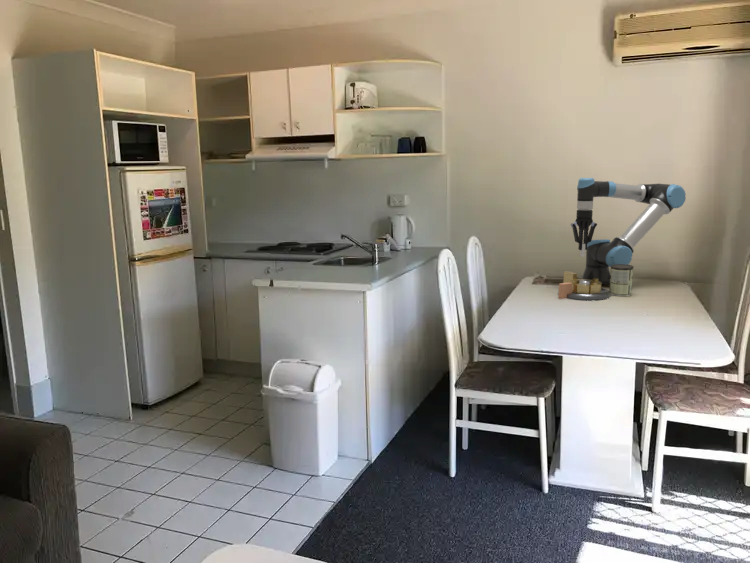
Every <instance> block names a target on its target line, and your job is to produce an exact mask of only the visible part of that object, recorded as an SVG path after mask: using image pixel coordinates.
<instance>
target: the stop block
mask: <svg viewBox="0 0 750 563" xmlns="http://www.w3.org/2000/svg"><path fill="white" fill-rule="evenodd" d="M571 293H572V283H569V282H568V283H563V282H562V283H558V298H557V299H562V300H563V299H568V298H567V294H571Z"/></svg>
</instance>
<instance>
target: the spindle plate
mask: <svg viewBox="0 0 750 563" xmlns="http://www.w3.org/2000/svg"><path fill="white" fill-rule="evenodd" d="M579 284H583V285H590V281H589V280H580V281H579ZM609 297H610V298H611V294H610V289H606V288H603V287H601V292H600V293H594V294H582V293H574V292H572V293H571V294H567V298H566V299H568V300H569V299H570V300H575V301H587V300H588V301H591V302H593V301H592V300H595V301H604V300H607V298H608V299H610V298H609ZM603 299H604V300H603Z"/></svg>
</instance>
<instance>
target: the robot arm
mask: <svg viewBox="0 0 750 563" xmlns="http://www.w3.org/2000/svg"><path fill="white" fill-rule="evenodd" d="M576 189H577V200H576V202H577V203H576V209H577V210H576V214H575V215H576V218H575V221H574V222H573V223H570V226H571V228H572V233H573V237H574V242H575V243H578V248H577V249H578V250H579V257H582V258H585V257H586V258H585V268H584V272H583V273H582V276H581V279H588V280H593V278H597V279H599V282H602V284H605V285H610V279H611V270H610V268H611V265H614V264H626V265H630V263H631V261H632V260H633V258H632V257H633V254H634V251H635V250H634V248H635V247H636V246H637V244H639V242H640V241H641V240H642V239H643V238H644V237H645V236H646V235H647V234H648V233H649V231H650V230H651V229H652V228H653V227H654V226H655V225H656V224H657V223H658V222H659V221H660V219H661V218H662V217H663V216H665V215H669V214H670V213H671V212H672V211H673V210H674V209H679V208H681V207H682V206H683V205H684V204H685V202H686V199H687V198H686V191H685V189H684V187H682V186H681V185H679V184H675V183H672V184H667V183H648V184H647V183H644V184H643V183H639V184H637V185H634V184H625V183H618V182H617V183H616V182H614V181H612V180H611V181H609V180H607V181H603V180H595V178H594V177H580V178H579V179H578V181H577V187H576ZM594 198H611V199H612V198H613V199H623V200H632V201H635V202H636V203H642V204H643V203H644V204H647V205H648V206H647V207H646V208H645V209H644V210H643V211H642V212H641V213H640V214H639V216H637V218H636V219H635V220H633V222H632V223H631V224H630V225H629V226H628V227H627V229H626V230H625V231H624V232H623V233H622V234H621V235H620V236H616V237H614V238H613V240H610V239H607V238H605V239H603V238H602V239H593V236H594V233H595V229H596V228H597V225H598V223H596V222H594V220H593V209H594ZM577 227H578V228H577Z"/></svg>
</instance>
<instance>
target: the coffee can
mask: <svg viewBox="0 0 750 563" xmlns="http://www.w3.org/2000/svg"><path fill="white" fill-rule="evenodd" d="M610 275H611V279H610V284H609V291H610V296H611V295H612V296H614V295H616V296H615V297H631V296H632V294H633V293H632V291H633V278H634V265H631V264H628V265H626V264H614V265H611V267H610ZM630 295H631V296H630Z"/></svg>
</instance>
